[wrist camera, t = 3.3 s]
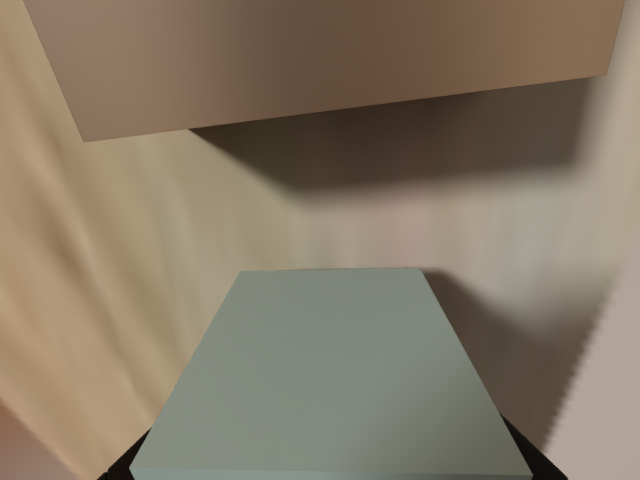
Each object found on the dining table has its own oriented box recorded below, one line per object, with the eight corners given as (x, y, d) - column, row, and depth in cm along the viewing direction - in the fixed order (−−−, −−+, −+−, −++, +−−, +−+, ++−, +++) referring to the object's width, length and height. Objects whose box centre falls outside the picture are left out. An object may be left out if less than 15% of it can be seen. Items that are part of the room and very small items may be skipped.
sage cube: (419, 267, 8) (532, 474, 4) (406, 395, 10) (466, 631, 6) (240, 271, 8) (129, 467, 4) (262, 394, 10) (207, 619, 6)
